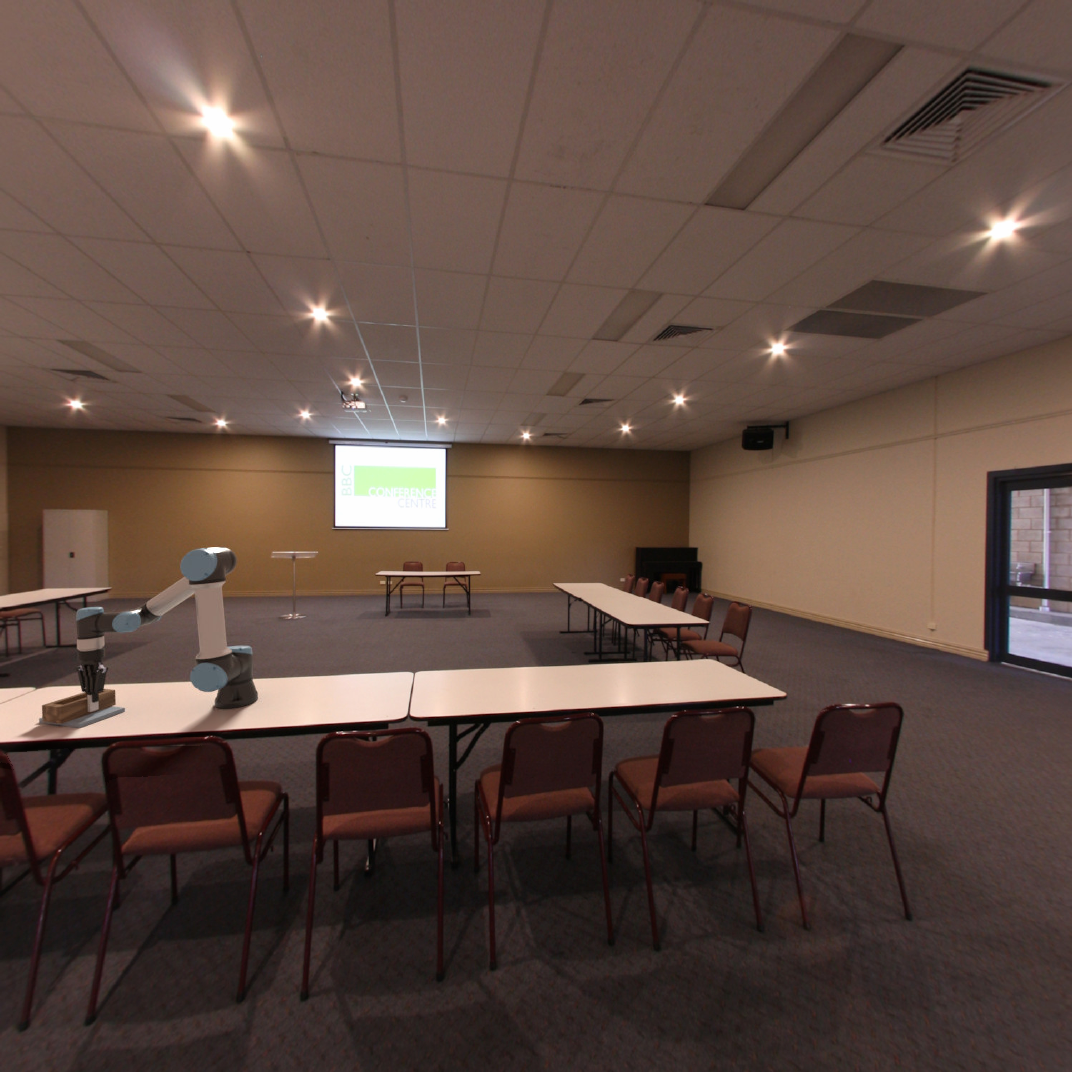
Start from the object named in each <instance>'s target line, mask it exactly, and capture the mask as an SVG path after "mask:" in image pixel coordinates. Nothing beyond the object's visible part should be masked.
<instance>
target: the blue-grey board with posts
mask: <svg viewBox="0 0 1072 1072" xmlns="http://www.w3.org/2000/svg"><path fill="white" fill-rule="evenodd" d="M124 712H126V708H125V707H123V706H122V707H121V706H115V705H114V706H111V707H108V708H105V709H102V710H99V711H96V712H94V713H91V714H88V715H85V716H82V717H79V718H76V719H73V720H71V721H68V722H65V723H62V724H59V723H51V722H43V721H42V717H40V718H38V722H39V723H40V724H49V725H56V726H62V727H69V728H78V729H79V728H80V729H81V728H83V727H86V726H89V725H91V724H95V723H97V722H100V721H102V720H106V719H108V718H111V717H113V716H117V715H120V714H123V713H124Z"/></svg>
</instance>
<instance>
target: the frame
mask: <svg viewBox="0 0 1072 1072" xmlns="http://www.w3.org/2000/svg"><path fill="white" fill-rule="evenodd" d="M98 704H99V709H98V710H95V711H92V712H88V701H87V694H86V693H85V692H80V693H78V694H74V695H71V696H68V697H63V698H62V699H61V698H60V699H58V700H55V701H51V702H48V703H46V704H42V705H41V710H42V711H41V716H42V717H41V718H42V721H43V722H51V723H59V724H62V723H65V722H68V721H71V720H73V719H76V718H79V717H82V716H85V715H88V714H91V713H94V712H96V711H99V710H102V709H105V708H108V707H111V706H114V707H115V706H116V704H117V703H116V689H108V688H104V690H103V691H101V692H99V701H98Z"/></svg>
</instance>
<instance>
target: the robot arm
mask: <svg viewBox="0 0 1072 1072" xmlns="http://www.w3.org/2000/svg"><path fill="white" fill-rule="evenodd" d="M237 564H238V558H237V555H236V553H235V552H234V551H233V550H232V549H230V548H228V547H225V546H214V547H201V548H197V549H193V550H190V551H189V552H187V553H186V554H185V555H184V556H183V557H182V559H181V561H180V565H179V566H180V567H179V569H180V573H181V574H182V575H183V577H182V578H180V579H179V580H177V581H176V582H175V583H173V584H172V585H170V586H169V587H167V588H166V589H164V590H163V591H161V592H159V593H158V594H156V596H154V597H152V598H151V599H149V600H147V602H145V603H143V604H142V605H140V606H139V607H135V608H131V609H126V610H123V611H122V610H121V611H119V612H117V611H116V612H105V610H104V607H102V606H89V607H83V608H78V609H77V611H76V616H75V617H76V618H75V619H76V620H75V623H76V624H75V625H76V636H77V637H76V649H77V650H78V651H77V661H78V662H80V665H79V666H76V667H75V671H76V672H77V676H78V681H79V685H80V689H81V693H84V692H85V693H86V694H87V701H88V712H92V711H95V710H98V709H99V704H98V701H99V692H101V691H103V690H104V689H105V685H106V684H105V683H106V677H107V672H108V670H109V667H108V666H104V664H103V663H104V662H103V660H102V659H104V658H105V657H106V649H105V634H107V633H109V634H110V633H121V634H124V633H125V634H126V633H133V632H135V631H137V629H138V628H140V627H142V626H147V625H151V624H154V623H156V622H158V621H160V620H161V619H162V617H163V615H164V614H166V613H167V612H169V611H171V610H172V609H173V608H175V607H176V606H178V605H179V604H180V603H183V602H184V601H186V600H187V599H188V598H190V597H192V596H193V595H194V601H195V610H196V611H195V612H196V623H197V632H198V634H197V635H198V643H199V645H198V646H199V652H198V654H196V656H195V665H194V667H193V669H192V670H191V671H190V676H189V678H190V679H189V680H190V682H191V684H192V686H193V687H194V688H195V689H197V690H198V691H199V692H204V693H212V692H216V691H217V693H216V697H215V699H214V707H215V708H216V709H236V708H241V707H244V706H248V705H251V704H253V703H255V702H256V701H258V699H259V692H258V690H257V688H256V685H255V683H254V679H253V676H254V675H253V672H254V670H253V669H254V668H253V667H254V665H253V663H254V662H253V659H254V658H253V657H254V653H253V648H252V647H251V646H250V645H234V646H233V645H232V646H228V644H227V641H228V640H227V632H226V620H225V610H224V609H225V608H224V597H223V585H225V583H226V582H227V579H226V577H227V575H229V574H231V573H233V571H234V570H235V569H236V567H237Z"/></svg>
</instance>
